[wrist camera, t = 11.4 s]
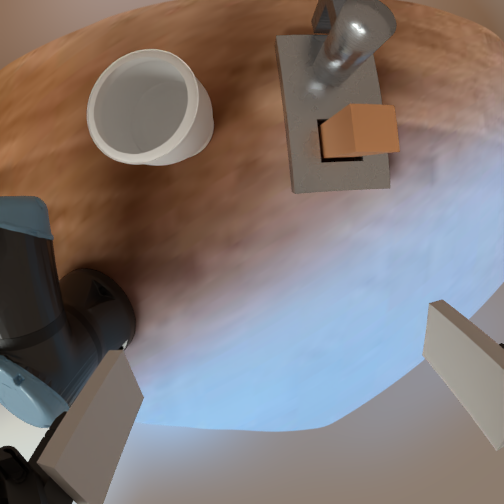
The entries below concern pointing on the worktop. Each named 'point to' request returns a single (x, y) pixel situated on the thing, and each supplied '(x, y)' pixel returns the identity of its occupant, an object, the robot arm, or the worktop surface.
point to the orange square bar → (359, 132)
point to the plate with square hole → (332, 90)
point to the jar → (149, 110)
